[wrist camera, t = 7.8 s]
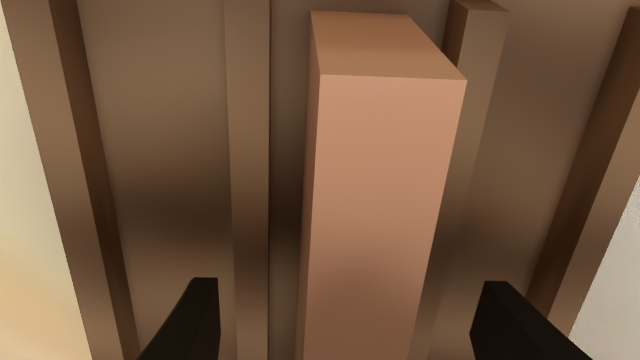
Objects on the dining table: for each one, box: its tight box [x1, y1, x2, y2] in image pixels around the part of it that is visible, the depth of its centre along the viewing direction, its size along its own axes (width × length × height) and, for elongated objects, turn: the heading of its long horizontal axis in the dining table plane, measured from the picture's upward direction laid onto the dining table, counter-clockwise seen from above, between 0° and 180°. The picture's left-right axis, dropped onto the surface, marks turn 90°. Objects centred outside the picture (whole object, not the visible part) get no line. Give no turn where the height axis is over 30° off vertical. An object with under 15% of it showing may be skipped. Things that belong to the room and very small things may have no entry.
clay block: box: [294, 10, 467, 360], centre depth 14 cm, size 14×2×5 cm, turn 177°
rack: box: [0, 0, 640, 360], centre depth 16 cm, size 16×17×2 cm
